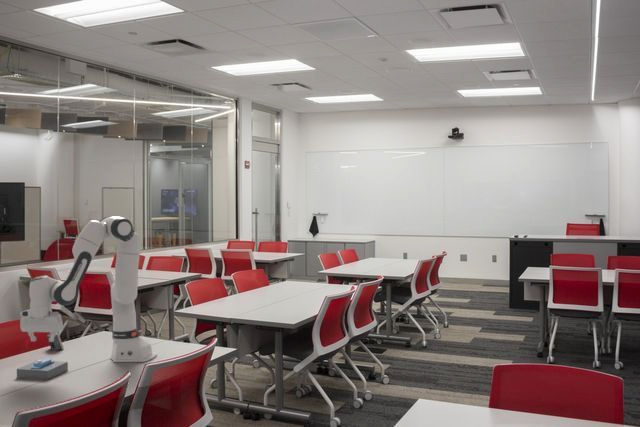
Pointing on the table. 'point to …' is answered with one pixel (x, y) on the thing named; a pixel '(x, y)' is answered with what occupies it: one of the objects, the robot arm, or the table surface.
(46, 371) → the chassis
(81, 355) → the table surface
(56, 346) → the electrical switch
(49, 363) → the servo
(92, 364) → the table surface
